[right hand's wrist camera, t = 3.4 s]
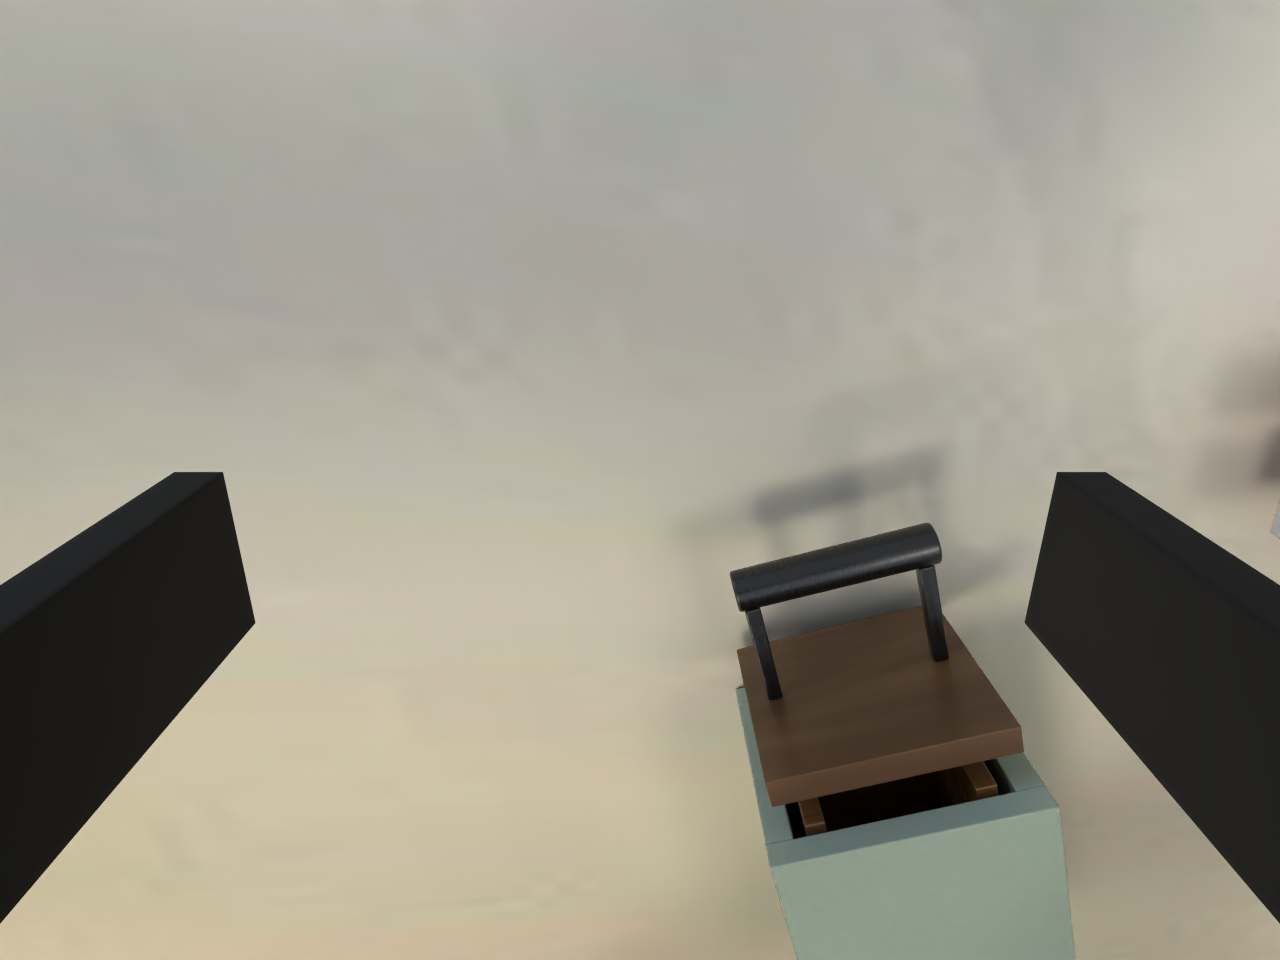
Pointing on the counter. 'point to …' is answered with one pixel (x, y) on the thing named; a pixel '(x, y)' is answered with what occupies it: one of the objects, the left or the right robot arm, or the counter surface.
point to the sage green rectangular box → (925, 875)
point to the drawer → (868, 693)
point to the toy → (1276, 523)
